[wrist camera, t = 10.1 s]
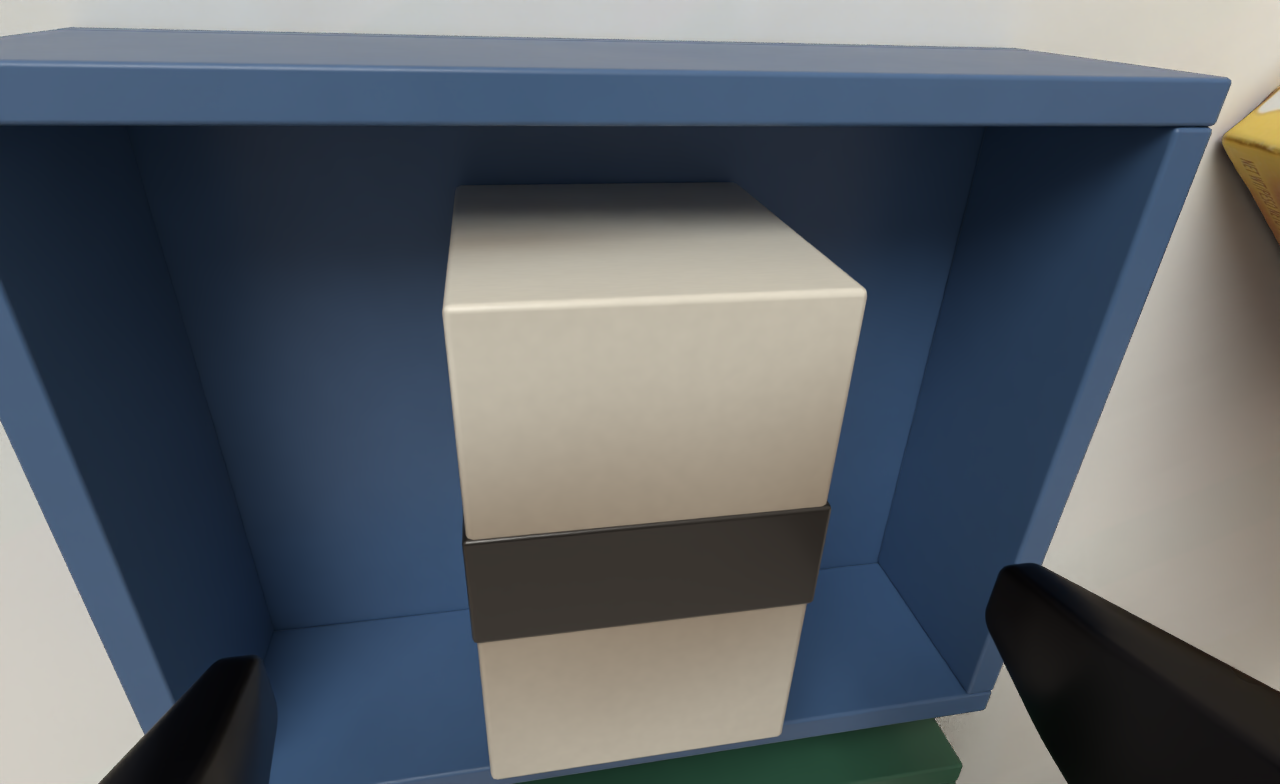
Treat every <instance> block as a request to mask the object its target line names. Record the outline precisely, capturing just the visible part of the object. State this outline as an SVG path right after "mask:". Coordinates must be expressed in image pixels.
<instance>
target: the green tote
mask: <svg viewBox="0 0 1280 784" xmlns="http://www.w3.org/2000/svg"><path fill="white" fill-rule="evenodd" d="M961 769H962V763H961V761H960V760H959V758H958V756H957V755H956V753H955V751H954V750H953V748H952V746H951V745H950V743H949V742H948V740H947V738H946V737H945V735H944V733H943V732H942V730H941V728H940V727H939V725H938V724H937V722H936V720H935V719H934V718H930V719H923V720H917V721H911V722H904V723H898V724H891V725H885V726H879V727H872V728H866V729H859V730H853V731H847V732H840V733H834V734H827V735H821V736H815V737H808V738H802V739H795V740H789V741H783V742H776V743H770V744H763V745H757V746H751V747H744V748H738V749H731V750H725V751H719V752H712V753H706V754H699V755H693V756H687V757H680V758H674V759H667V760H661V761H655V762H648V763H642V764H635V765H629V766H623V767H616V768H610V769H603V770H597V771H591V772H584V773H578V774H571V775H565V776H559V777H552V778H546V779H539V780H533V781H527V782H520V783H514V784H956V780H957V779H958V777H959V774H960V772H961Z"/></svg>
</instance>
